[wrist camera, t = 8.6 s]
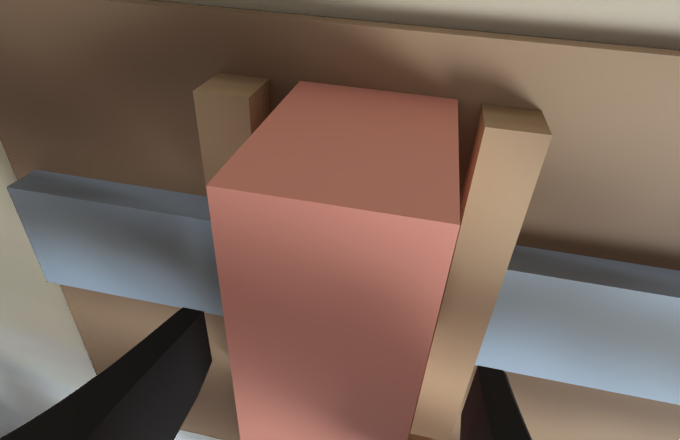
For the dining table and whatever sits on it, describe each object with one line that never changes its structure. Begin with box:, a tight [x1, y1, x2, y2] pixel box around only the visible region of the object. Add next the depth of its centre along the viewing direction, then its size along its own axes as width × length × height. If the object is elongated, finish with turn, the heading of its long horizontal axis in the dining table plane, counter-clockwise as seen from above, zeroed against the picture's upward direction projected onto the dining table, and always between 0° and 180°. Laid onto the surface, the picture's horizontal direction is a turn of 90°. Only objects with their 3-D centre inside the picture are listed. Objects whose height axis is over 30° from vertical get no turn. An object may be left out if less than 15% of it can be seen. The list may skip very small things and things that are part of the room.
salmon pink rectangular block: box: [206, 81, 460, 440], centre depth 13 cm, size 12×4×6 cm, turn 177°
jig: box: [0, 0, 680, 440], centre depth 16 cm, size 20×24×2 cm
